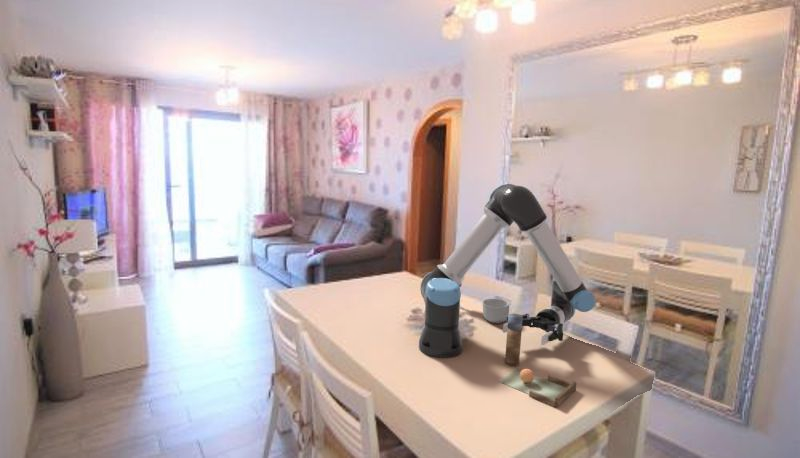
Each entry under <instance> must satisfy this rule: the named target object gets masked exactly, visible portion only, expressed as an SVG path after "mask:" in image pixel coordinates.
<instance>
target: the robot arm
mask: <svg viewBox="0 0 800 458" xmlns="http://www.w3.org/2000/svg"><path fill="white" fill-rule="evenodd" d="M533 193H534V192H532V191H531V190H530V189H528V188H527V187H525V186H523V185H517V184H516V185H515V184H512V183H511V184H510V183H506V184H505V183H504V184H501V185H499V186H497V187H495V188H494V189H493V191H491V194H490V196H489V200H488V202H486V204H485V205H484V207H483V214H482V215H481V217H480V218H479V220H477V222H476V223H475V224H474V226H473V227H472V228H471V229H470V230H469V232H468V233H467V234H466V235H465V236H464V238H463V239H462V241H460V243H459V244H458V245H457V247H456V248H455V249H454V250H453V251H452V253H451V254H450V256H449V257H448V258H447V259H446V261H445V262H444V263H442V264H437V265H436V266H435V268H434V269H433V270H432V271H430V272H428V273H427V274H425V275H424V276H423V278H422V279H421V282H420V294H421V297H422V299H423V301H424V306H425V307H424V309H425V310H424V327H423V329H422V332H421V335H420V337H419V338H418V349H419V350H420V351H421V352H422V353H423V354H425V355H427V356H430V357H434V358H453V357H457V356H458V355H460V354H462V352H463V346H464V344H463V339H462V336H461V332H460V328H459V325H460V324H459V322H460V309H461V308H460V304H461V296H462V294H461V287H462V286H463V282H462V278H463V277H464V278H465V275H466V274H467V273H468V272H469V271H470V269H471V268H472V267H473V265H474V264H475V263H476V262H477V261H478V260H479V258H480V257H481V255H482V254H483V253H484V252H485V251H486V249H487V248H488V247H489V246H490V244H491V243H493V241H494V239H495V238H496V237H497V236H498V235H499V233H500V232H501V231H502V230H503V229H504V228H510V227H511V225H512V224H513V223H515V224H516V225H517V227H518V228H519V230H520V231H521V232H522V233H525V234H526V236H527V237H528V239H529V240H530V242H531V243H532V245H533V247H534V249H535V250H536V251H537V253H538V255H539V257H540V258H541V260H542V261H543V263H544V265H545V266H546V268H547V270H548V271H549V273H550V274H551V277H552V280H551V282H552V285H551V286H552V289H551V300H550V306H548V307H545V309H542V310H540V311H539V312H537V314H536V315H535V316H530V314H528V313H525V314H520V315H521V316H523V319H522V327H529V328H536V329H541V330H542V331H544V332H546V333H545V334H544V335H542V336H541V342H540V345H541V346H545V345H547V344H548V343H549V342H553V341H555V340H558V341H560V342H563V341H564V330H563V327H564V323H566V322H568V321H570V320H571V319H572V318H573V317H574V315H576V314H575V313H576V310H578V312H581V313H588V312H590V311H592V310H593V309H594V307H595V306H596V302H597V301H596V300H597V299H596V296H595V295H594V294H593V293H592V292H591V291H590V290H588V288H587V287H586V286H585V284H584V282H583V281H582V279H581V278H580V276H579V274H578V273H577V271H576V269H575V268H574V266H573V264H572V261H570V259H569V257H568V256H567V254H566V253H565V251H564V248H563V247H562V245H561V244H560V242H559V240H558V239H557V237H556V235H555V234H554V232H553V231H552V229H551V227H550V226H549V224H548V222H547V219H548V217H547V214H546V213H545V211H544V209H543V207H542V206H541V204H540V202H539V200H538V199H537V197H536V196H535V195H534V194H533ZM505 321H506V322H505V323H504V324H503V325H502V326H503V327H502V333H504V334H506V333H507V327H508V317H507V319H506V320H505Z"/></svg>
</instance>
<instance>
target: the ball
mask: <svg viewBox="0 0 800 458" xmlns="http://www.w3.org/2000/svg"><path fill="white" fill-rule="evenodd" d="M521 370H522V371H521V372H520V378H521V380H522V381H523V382H525V383H530V382H532V381H533V379H534V372H533V371H532V370H531V369H529V368H524V369H521Z"/></svg>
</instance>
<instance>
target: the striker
mask: <svg viewBox="0 0 800 458" xmlns="http://www.w3.org/2000/svg"><path fill="white" fill-rule="evenodd" d="M521 315H522V314H519V313H509V315H508V327H507V332H506V346H505V358H504V359H505V360H504V363H505V365H507V366H509V367H519V366H520V355H521V342H522V333H523V332H522V329H523V326H522V319H523V316H521Z"/></svg>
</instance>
